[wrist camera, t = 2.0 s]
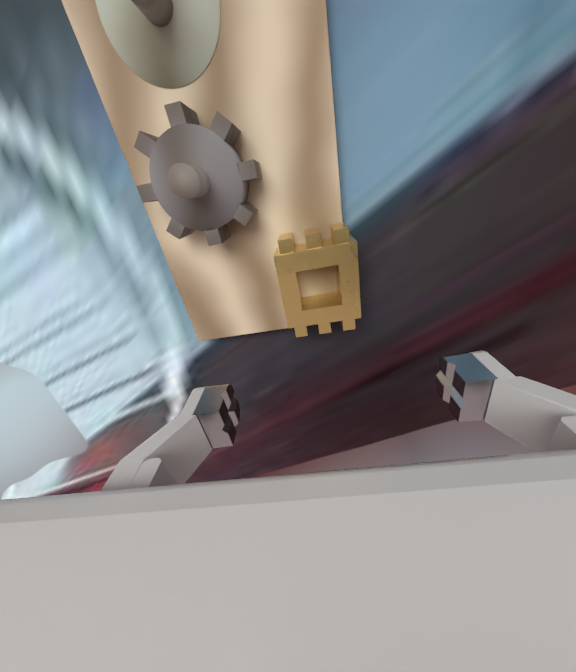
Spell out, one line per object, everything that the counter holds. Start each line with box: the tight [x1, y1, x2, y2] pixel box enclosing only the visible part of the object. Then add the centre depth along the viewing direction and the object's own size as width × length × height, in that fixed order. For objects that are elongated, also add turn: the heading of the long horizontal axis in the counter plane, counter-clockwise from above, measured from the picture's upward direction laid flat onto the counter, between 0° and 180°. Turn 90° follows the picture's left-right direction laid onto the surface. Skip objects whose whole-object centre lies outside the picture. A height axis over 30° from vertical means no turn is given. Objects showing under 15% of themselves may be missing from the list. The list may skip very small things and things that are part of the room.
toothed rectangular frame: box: [273, 223, 361, 337], centre depth 22 cm, size 6×8×3 cm
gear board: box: [62, 0, 343, 341], centre depth 18 cm, size 15×27×6 cm, turn 10°
